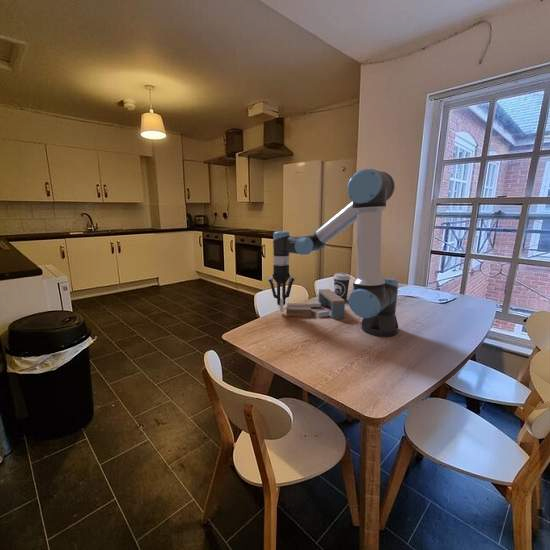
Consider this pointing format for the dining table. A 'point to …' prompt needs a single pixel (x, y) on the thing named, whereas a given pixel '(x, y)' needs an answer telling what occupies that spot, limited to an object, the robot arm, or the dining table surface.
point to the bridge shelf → (330, 304)
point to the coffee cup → (341, 284)
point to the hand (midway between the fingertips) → (281, 311)
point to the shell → (298, 309)
